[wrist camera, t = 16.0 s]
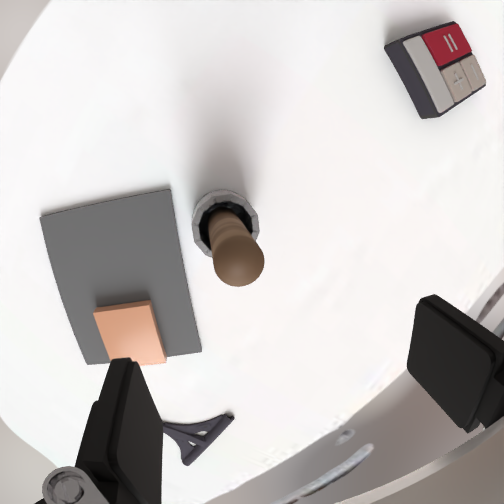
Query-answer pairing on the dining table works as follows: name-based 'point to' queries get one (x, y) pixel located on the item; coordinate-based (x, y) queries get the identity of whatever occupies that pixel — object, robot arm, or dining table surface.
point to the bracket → (196, 436)
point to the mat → (121, 268)
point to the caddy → (217, 200)
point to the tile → (131, 332)
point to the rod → (233, 248)
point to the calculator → (436, 68)
